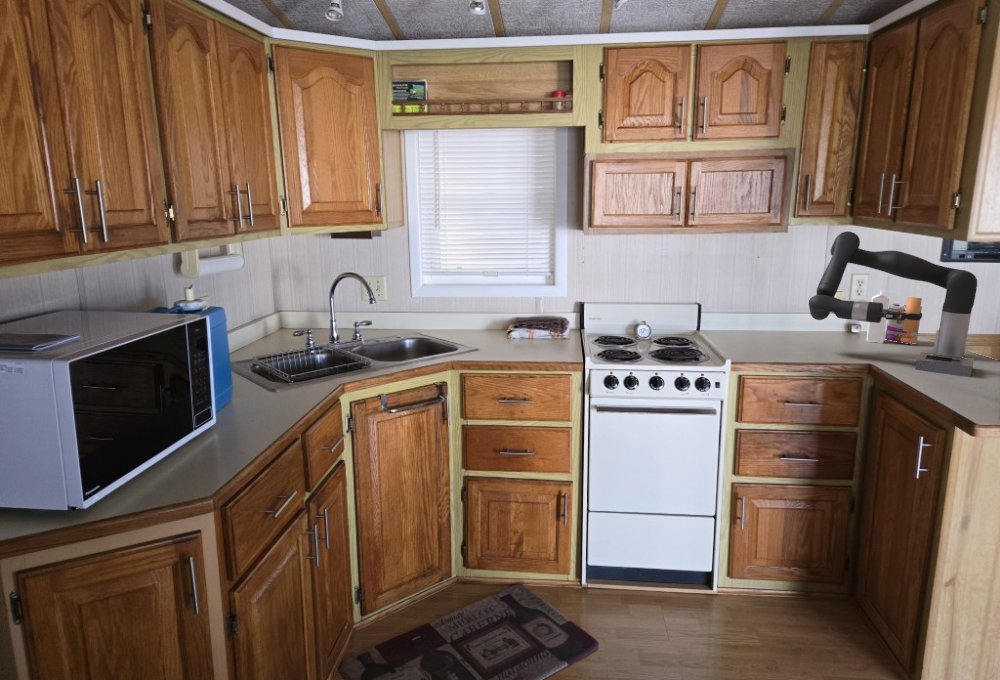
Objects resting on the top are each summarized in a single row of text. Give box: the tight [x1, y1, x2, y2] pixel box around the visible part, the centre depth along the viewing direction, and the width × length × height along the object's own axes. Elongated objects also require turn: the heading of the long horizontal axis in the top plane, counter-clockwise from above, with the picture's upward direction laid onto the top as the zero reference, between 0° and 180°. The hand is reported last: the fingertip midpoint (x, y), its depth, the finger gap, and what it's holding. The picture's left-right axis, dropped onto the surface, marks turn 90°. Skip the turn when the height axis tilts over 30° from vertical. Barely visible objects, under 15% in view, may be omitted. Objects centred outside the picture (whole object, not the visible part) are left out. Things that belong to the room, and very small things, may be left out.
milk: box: [865, 290, 890, 344], centre depth 277 cm, size 6×6×22 cm
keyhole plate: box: [914, 352, 975, 378], centre depth 231 cm, size 16×16×4 cm
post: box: [900, 296, 922, 343], centre depth 235 cm, size 5×5×16 cm
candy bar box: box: [884, 302, 923, 344], centre depth 277 cm, size 11×5×16 cm, turn 25°
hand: (920, 316), depth 233 cm, fingers closed on post, 4 cm apart
